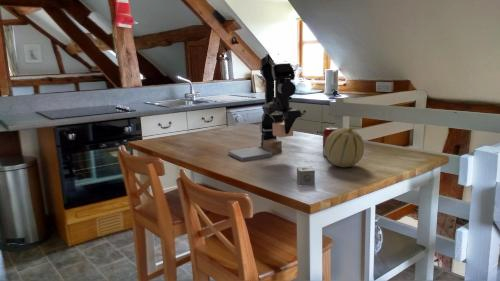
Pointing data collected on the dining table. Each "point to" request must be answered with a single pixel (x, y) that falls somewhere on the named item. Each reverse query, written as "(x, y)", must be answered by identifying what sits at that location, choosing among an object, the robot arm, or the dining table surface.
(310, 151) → the dining table surface
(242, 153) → the base board
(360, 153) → the cantaloupe
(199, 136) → the dining table surface
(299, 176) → the grey cube
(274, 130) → the terracotta brick
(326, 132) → the soda can
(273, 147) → the walnut brick
